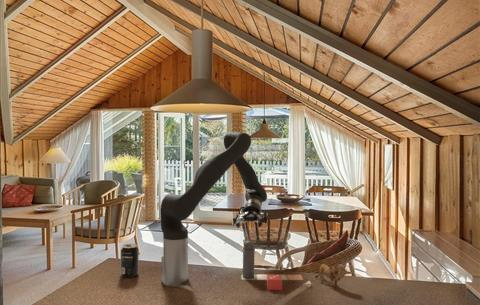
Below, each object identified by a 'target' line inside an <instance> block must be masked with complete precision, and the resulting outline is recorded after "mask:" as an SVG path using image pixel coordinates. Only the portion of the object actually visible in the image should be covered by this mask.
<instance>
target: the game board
mask: <svg viewBox="0 0 480 305" xmlns="http://www.w3.org/2000/svg"><path fill="white" fill-rule="evenodd" d="M267 275H268V274H254V278H253V279H245V278H243V273H242V274H241V275H240V278H241V280H242V281H247V280H248V281H261V280H262V281H267ZM280 275H281V277H282V281H304V278H303V276H302V274H280ZM311 287H312V283H311V281H310V280H307V281H305V282H304V283H303V284H301V285H300V286H299V288H311Z"/></svg>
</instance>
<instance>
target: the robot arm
mask: <svg viewBox="0 0 480 305" xmlns="http://www.w3.org/2000/svg"><path fill="white" fill-rule="evenodd" d="M251 145H252V137H251V136H250V134H249V133H246V132H242V131H228V132H227V133H226V134H225V135H224V137H223V146H224V148H225V150H224V151H221V152H219V153H218V154H215V155H212V156H211V157H209V158H208V159H206V160H205V162H203V163H202V164H201V165H200V166H199V168H198V169H197V171H196V172H195V176H194V180H193V183H192V184H191V186H190V187H189V188H188V189H187V190H186V191H185V192H184V193H183V194H171V193H170V194H168V195H166V196H164V198H163V199H162V200H161V203H160V213H159V214H160V229H161V231H162V237H163V238H162V240H163V242H162V243H163V244H162V245H163V246H162V250H163V251H162V256H161V263H160V264H161V266H160V267H161V276H160V277H161V279H160V280H161V283H163V285H164V286H167V287H173V288H174V287H181V286H184V285H186V284H185V283H184V282H186V281H188V278H189V277H188V276H189V273H188V272H189V231H188V229H187V228H186V226H185V225H184V223H183V222H182V221H184V220H186V219H188V218H189V217H190V216H191V215H192V213H193V212H194V211H195V210H196V208H197V207H198V205H199V204H200V202H201V201H202V200H203V199H204V197H205V196H206V195H207V194H208V192H210V190H211V189H212V188H213V187H214V186H215V185H216V184H217V183H218V181H219V180H221V179H222V177H223V176H224V175H225V173H226V172H227V171H228V170H229V169H230V168H231V167H232V166H233V165H234V166H235V167H236V170H238V173H239V174H240V177H241V181H242V183H243V186H244V188H245V189H247V191H246V192H245V194H244V197H245V200H246V203H245V205H244V208H243V212H242V213H241V214H240V213H239V212H235V213H234V215H233V216H232V223H233V224H234V225H235V226H236V228H237V229H239V228H241V224H246V223H247V222H254V223H257V225H258V226H257V227H258V228H261V227H262V226H263V223H264V224H268V212H267V211H264V212H263V213H262V204H263V203H264V202H266V201H267V199H268V193H267V191H266V190H265V188H264V186H263V185H261V183H260V181H259V178H258V176H257V174H256V171H255V169H254V167H253V166H252V165H251V164H250V163H249V161H247V159H246V158H245V156H244V155H245V154H246V153H247V152H248V151H249V149H250V147H251Z"/></svg>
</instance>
